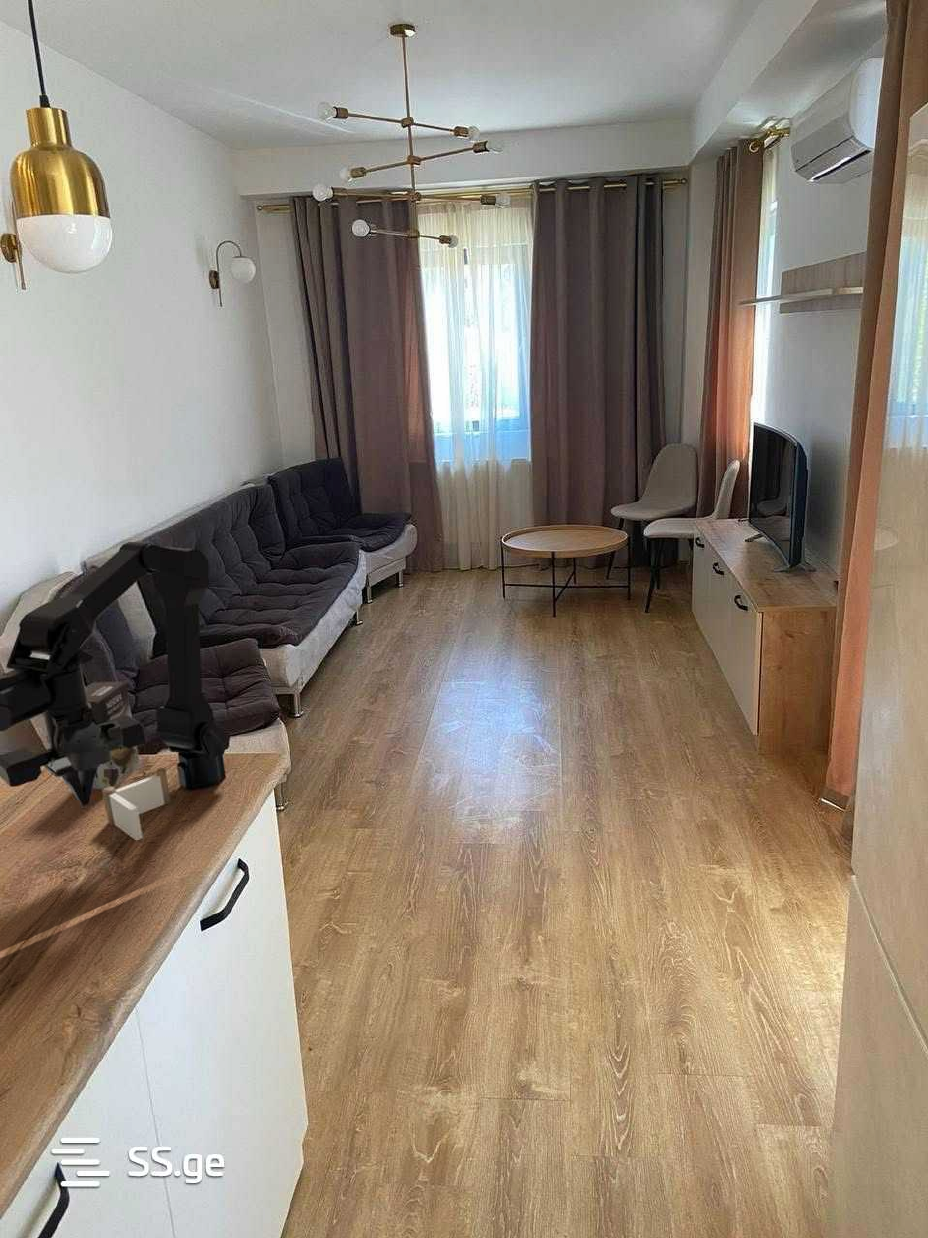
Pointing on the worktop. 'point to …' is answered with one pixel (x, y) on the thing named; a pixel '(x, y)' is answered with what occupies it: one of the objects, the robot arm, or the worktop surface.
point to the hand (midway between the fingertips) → (84, 804)
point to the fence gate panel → (126, 816)
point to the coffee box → (107, 706)
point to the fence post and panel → (141, 794)
